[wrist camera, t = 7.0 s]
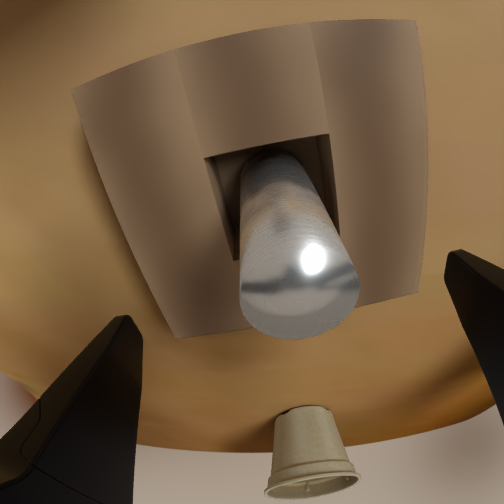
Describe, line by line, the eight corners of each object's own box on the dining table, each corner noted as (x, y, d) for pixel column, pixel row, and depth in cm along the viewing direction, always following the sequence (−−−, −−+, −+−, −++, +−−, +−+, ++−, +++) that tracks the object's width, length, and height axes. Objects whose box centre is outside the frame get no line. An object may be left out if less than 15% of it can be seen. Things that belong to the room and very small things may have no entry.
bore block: (378, 26, 12) (415, 20, 9) (393, 253, 20) (417, 292, 17) (106, 81, 14) (71, 89, 10) (184, 293, 21) (176, 338, 18)
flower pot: (352, 421, 33) (366, 485, 26) (277, 441, 35) (283, 504, 28) (336, 386, 28) (353, 467, 21) (245, 411, 30) (247, 488, 23)
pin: (299, 141, 15) (358, 235, 7) (308, 200, 17) (358, 327, 9) (233, 154, 15) (226, 260, 8) (247, 211, 17) (253, 347, 9)
